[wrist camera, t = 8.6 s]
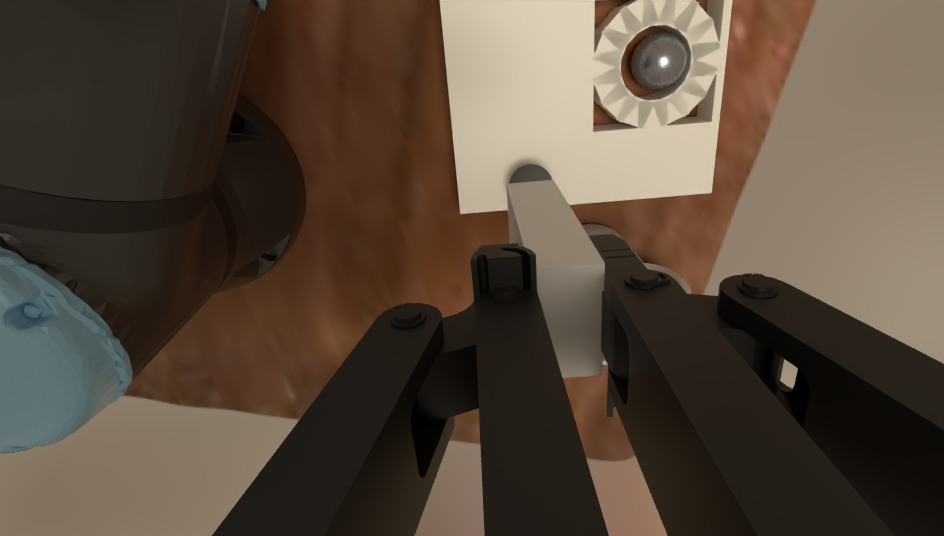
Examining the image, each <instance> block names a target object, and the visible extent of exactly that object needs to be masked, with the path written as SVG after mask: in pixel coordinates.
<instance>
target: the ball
mask: <svg viewBox="0 0 944 536" xmlns="http://www.w3.org/2000/svg"><path fill="white" fill-rule="evenodd" d="M687 60H688V54H687V50H686V47H685V45H684V43H683V42H682V40H681V39H680V38H678V37H677V36H676V35H674V34H671V33H667V32H659V33H655V34H652V35H649V36H648V37H646V38H645V39H643V40H642V41H641V42H640V43H639V44H638V46H637V47H636V49H635V50H634V53H633V55H632V59H631V69H632V73H633V76H634V78H635V79H636V80H637V82H638V83H639V84H641V85H642V86H644V87H646V88H649V89H663V88H666V87H669V86H671V85H672V84H674V83H675V82H676V81H677V80H678V79H679V78H680V77H681V76H682V74H683V73H684V71H685V68H686V65H687Z"/></svg>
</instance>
